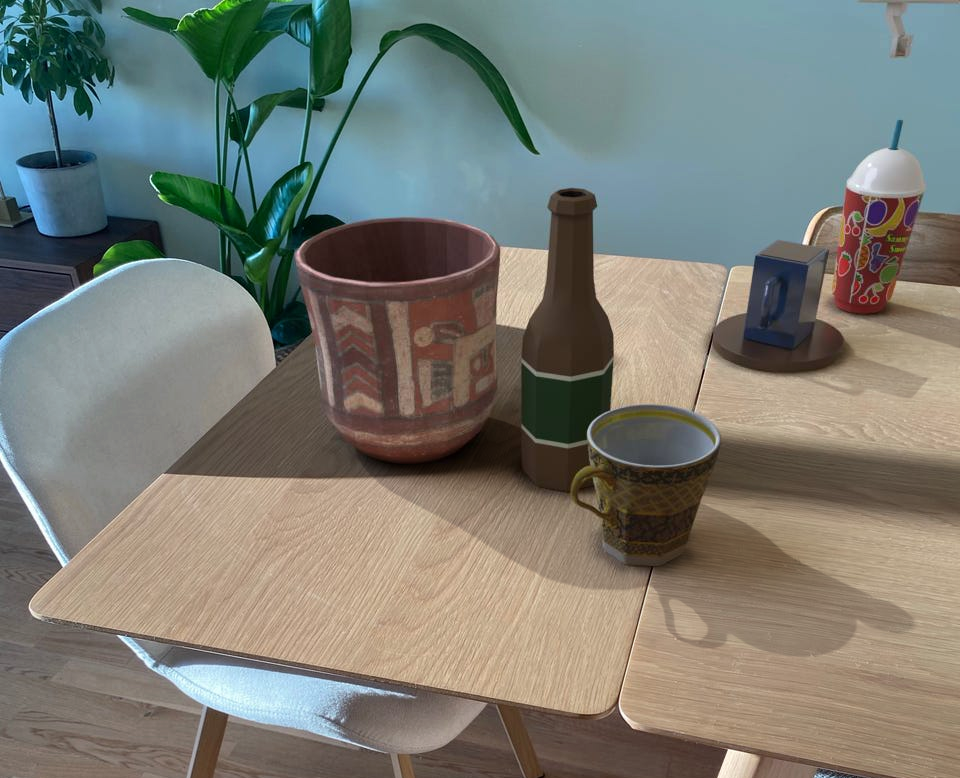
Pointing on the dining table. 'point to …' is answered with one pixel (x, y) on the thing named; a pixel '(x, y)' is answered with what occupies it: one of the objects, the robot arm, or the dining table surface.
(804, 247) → the mug
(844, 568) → the dining table surface
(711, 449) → the ceramic cup
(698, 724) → the dining table surface
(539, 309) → the beer bottle
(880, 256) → the smoothie
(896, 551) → the dining table surface
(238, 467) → the dining table surface
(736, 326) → the coaster
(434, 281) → the pottery
